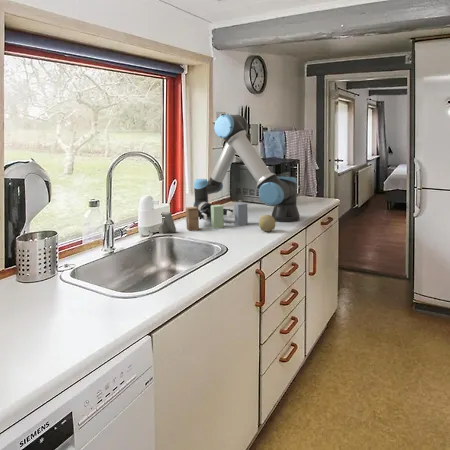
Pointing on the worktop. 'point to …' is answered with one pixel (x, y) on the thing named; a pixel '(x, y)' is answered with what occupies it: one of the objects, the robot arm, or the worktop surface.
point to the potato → (267, 223)
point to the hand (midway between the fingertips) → (219, 216)
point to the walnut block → (192, 218)
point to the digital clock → (167, 223)
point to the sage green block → (217, 216)
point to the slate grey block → (241, 214)
